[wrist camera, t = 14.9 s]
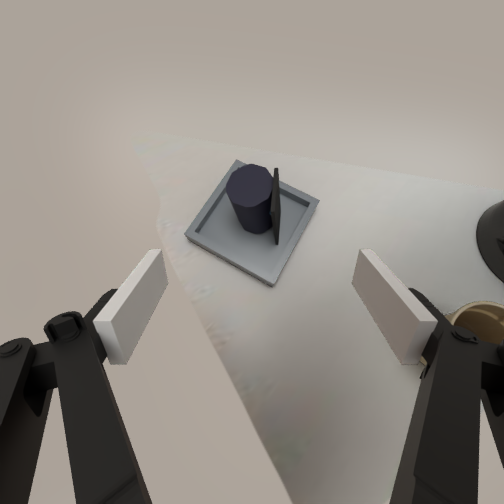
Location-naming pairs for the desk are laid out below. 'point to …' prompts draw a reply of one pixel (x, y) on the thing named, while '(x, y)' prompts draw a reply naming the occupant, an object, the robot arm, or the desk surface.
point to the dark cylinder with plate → (256, 198)
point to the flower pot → (480, 321)
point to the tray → (244, 242)
